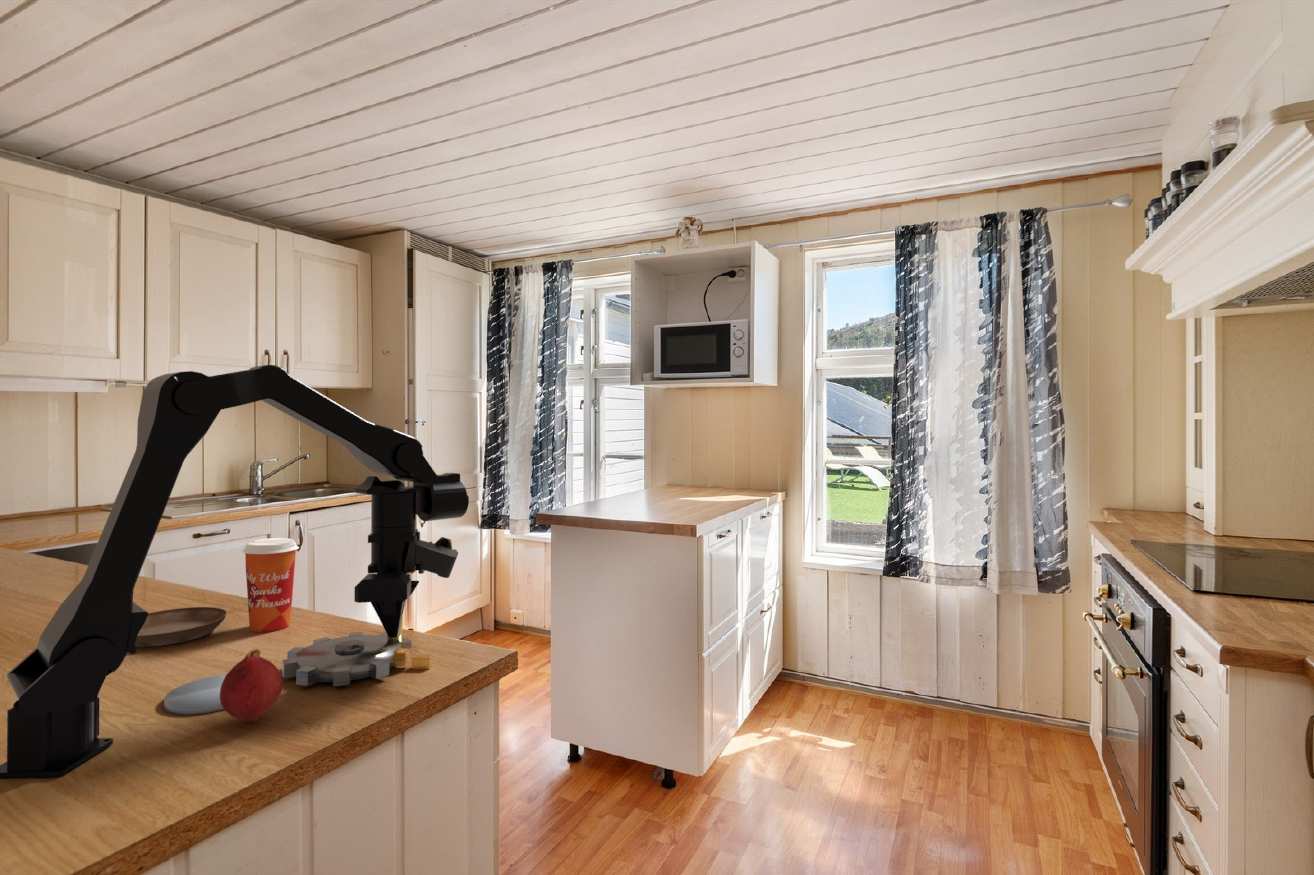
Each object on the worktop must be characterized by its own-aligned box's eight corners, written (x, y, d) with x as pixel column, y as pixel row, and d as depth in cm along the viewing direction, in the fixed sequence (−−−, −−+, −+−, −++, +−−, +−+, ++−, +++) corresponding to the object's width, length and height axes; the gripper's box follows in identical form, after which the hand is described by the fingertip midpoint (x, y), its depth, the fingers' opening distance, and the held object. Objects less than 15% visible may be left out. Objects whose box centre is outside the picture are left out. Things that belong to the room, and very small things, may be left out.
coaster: (234, 713, 72) (234, 706, 72) (142, 714, 72) (142, 707, 72) (280, 679, 82) (280, 673, 82) (200, 679, 82) (200, 673, 82)
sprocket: (436, 656, 90) (436, 618, 90) (332, 696, 76) (332, 651, 76) (362, 637, 98) (363, 602, 97) (256, 670, 84) (256, 629, 84)
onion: (251, 737, 67) (252, 661, 67) (205, 731, 68) (206, 657, 68) (293, 713, 73) (294, 643, 73) (250, 708, 74) (251, 639, 74)
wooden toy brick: (421, 679, 83) (421, 666, 83) (304, 679, 83) (304, 667, 83) (439, 657, 91) (439, 646, 91) (332, 657, 91) (332, 646, 91)
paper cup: (234, 636, 99) (235, 546, 99) (251, 621, 106) (252, 538, 106) (290, 632, 101) (291, 544, 101) (303, 618, 108) (304, 536, 108)
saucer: (81, 647, 93) (81, 629, 93) (178, 619, 108) (178, 603, 108) (160, 658, 90) (160, 638, 90) (249, 626, 104) (250, 610, 104)
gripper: (448, 533, 81) (447, 656, 81) (459, 515, 99) (459, 615, 99) (353, 536, 79) (353, 662, 79) (383, 516, 97) (382, 619, 97)
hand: (393, 637), depth 88 cm, fingers closed
